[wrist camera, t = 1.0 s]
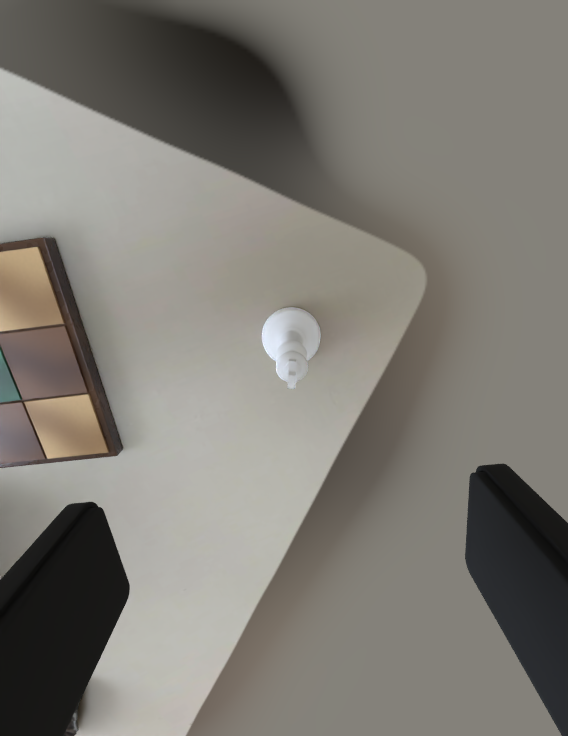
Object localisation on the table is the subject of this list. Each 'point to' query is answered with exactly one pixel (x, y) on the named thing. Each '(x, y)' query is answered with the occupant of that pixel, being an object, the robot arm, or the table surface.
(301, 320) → the chess piece
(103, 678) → the table surface
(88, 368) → the board
